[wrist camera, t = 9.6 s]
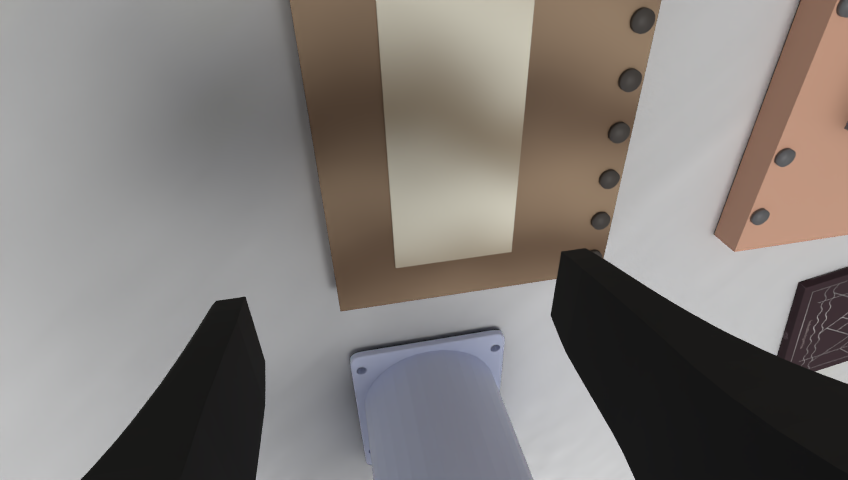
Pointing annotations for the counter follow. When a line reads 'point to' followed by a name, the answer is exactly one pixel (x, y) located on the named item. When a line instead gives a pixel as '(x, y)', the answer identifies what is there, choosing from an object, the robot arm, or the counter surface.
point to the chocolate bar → (818, 322)
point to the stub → (797, 141)
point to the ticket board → (467, 136)
